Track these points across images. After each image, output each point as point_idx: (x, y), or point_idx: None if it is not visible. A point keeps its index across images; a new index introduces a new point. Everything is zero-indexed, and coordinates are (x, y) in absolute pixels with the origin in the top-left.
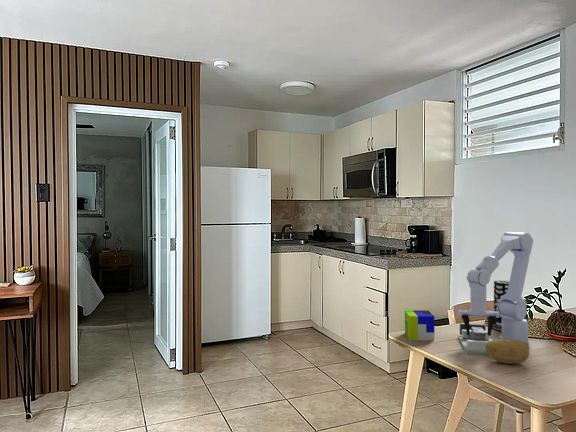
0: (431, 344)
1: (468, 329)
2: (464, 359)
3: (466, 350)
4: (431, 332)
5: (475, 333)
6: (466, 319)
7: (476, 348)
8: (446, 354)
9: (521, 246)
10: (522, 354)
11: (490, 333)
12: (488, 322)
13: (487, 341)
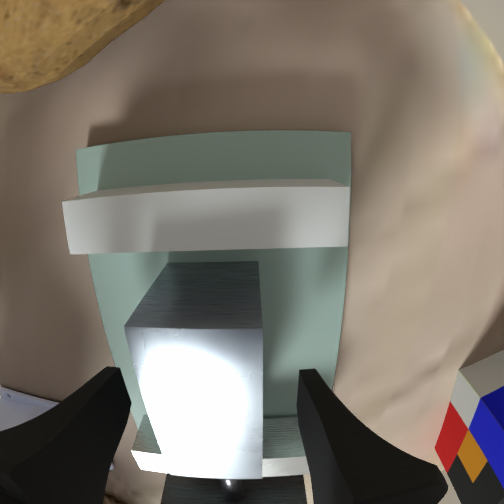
0: (497, 295)
1: (322, 400)
2: (363, 9)
3: (344, 144)
4: (493, 391)
5: (250, 324)
6: (403, 484)
7: (254, 181)
8: (465, 104)
9: None
10: None
11: (95, 376)
12: (85, 481)
13: (134, 232)
